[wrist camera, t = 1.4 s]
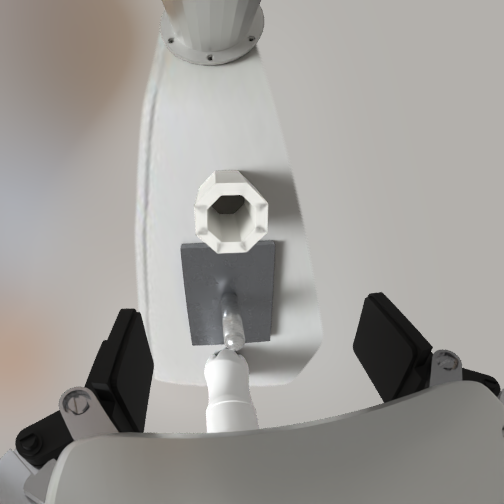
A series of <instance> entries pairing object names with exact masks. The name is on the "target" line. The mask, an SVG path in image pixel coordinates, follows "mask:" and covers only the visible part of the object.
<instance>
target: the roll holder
mask: <svg viewBox="0 0 504 504" xmlns="http://www.w3.org/2000/svg"><path fill="white" fill-rule="evenodd" d="M274 258H275V243H274V242H273V240H272V241H258V242H257V243H256V244H255V245H254V246H253V247H252V248H251V249H250V250H248V251H247V252H242V253H219V254H217V253H216V252H215V251H214V250H213V249H212V248H211V247H209V246H208V245H207V244H206V243H195V244H182V245H181V259H182V269H183V278H184V287H185V295H186V303H187V311H188V318H189V325H190V332H191V339H192V345H219V344H225V346H226V347H227V348H228V349H230V350H233V351H237V350H240V349H241V348H242V347H243V346H244V344H245V343H251V342H263V341H270V333H271V317H272V299H273V280H274Z"/></svg>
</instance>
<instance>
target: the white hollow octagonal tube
mask: <svg viewBox="0 0 504 504" xmlns="http://www.w3.org/2000/svg"><path fill="white" fill-rule="evenodd" d="M221 195H242V196H243V197H244V204H243V205H242V206H241V207H240V208H239V209H238V210H237V211H236V212H235V213H234V214H219V213H218V212H217V211H216V210H214V209H213V208H212V207H211V205H212V204H213V203H214V202H215V201H216V200H217V199H218V198H219V197H220V196H221ZM194 211H195V230H196V236H198V237H199V238H200V239H201V240H202V241H203V242H205V243H206V244H207V245H208V246H209V247H211V248H212V249H213V250H214V251H215V252H216V253H217V254H219V253H242V252H247V251H248V250H250V249H251V248H252V247H253V246H254V245H255V244H256V243H257V242H258V241H259V240H260V239H261V238H262V237H263V236H264V235H265V234H266V233H267V228H268V202H267V201H266V200H265V199H264V198H263V196H262V195H261V194H260V193H259V192H258V190H257V189H256V188H255V187H254V186H253V185H252V184H251V183H250V182H249V181H248V180H247V179H246V178H245V177H244V176H243V175H242V174H241V173H240V172H239V171H238V170H231V171H215V172H214V173H213V174H212V175H211V176H210V177H209V178H208V179H207V180H206V181H205V182H204V183H203V184H202V185H201V186H200V187H199V190H198V194H197V197H196V201H195V204H194Z"/></svg>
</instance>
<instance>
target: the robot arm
mask: <svg viewBox="0 0 504 504" xmlns="http://www.w3.org/2000/svg"><path fill="white" fill-rule="evenodd" d="M162 2H163V5H164V7H165V10H164V12H163V15H162V17H161V21H160V33H161V36H162V40H163V41H164V43H165V45H166V46H167V48H168V49H169V50H170V51H171V52H172V53H173V54H174V55H175V56H177V57H179V58H180V59H182V60H184V61H187V62H190V63H193V64H199V65H218V64H224V63H227V62H231V61H233V60H236V59H238V58H240V57H242V56H243V55H245V54H246V53H247V52H249V51H250V50H251V49H252V48H253V47H254V46H255V45H256V43H257V42H258V40H259V39H260V36H261V34H262V32H263V28H264V16H263V12H262V9H261V7H260V5H259V4H260V2H261V0H162ZM249 39H252V40H253V41H252V42H251V41H249ZM171 41H173V43H171V44H170V42H171ZM209 58H212V60H211V61H209V60H208V59H209ZM432 348H433V347H432V346H431V345H430V343H429V342H428V341H427V340H426V339H425V338H424V337H423V336H422V334H421V333H420V332H419V331H418V330H417V329H416V328H415V327H414V326H413V325H412V323H411V322H410V321H409V320H408V319H407V318H406V317H405V316H404V315H403V314H402V313H401V312H400V311H399V309H397V307H396V306H395V305H394V304H393V303H392V302H391V301H390V300H389V299H388V298H387V297H386V296H385V295H384V294H383V293H382V292H380V293H371V294H369V295H368V297H367V298H365V301H364V305H363V309H362V313H361V317H360V321H359V325H358V328H357V332H356V336H355V339H354V343H353V350H354V352H355V354H356V356H357V358H358V359H359V361H360V362H361V364H362V366H363V368H364V369H365V371H366V373H367V374H368V376H369V378H370V379H371V381H372V383H373V384H374V386H375V388H376V390H377V391H378V393H379V395H380V396H381V398H382V400H383V402H384V403H383V404H379V405H376V406H373V407H369V408H366V409H362V410H358V411H354V412H351V413H347V414H343V415H338V416H335V417H329V418H325V419H320V420H315V421H310V422H304V423H299V424H293V425H287V426H280V427H273V428H264V429H255V430H245V431H233V432H216V433H143V432H144V426H145V419H146V411H147V405H148V399H149V393H150V386H151V381H152V375H153V369H154V363H153V359H152V355H151V352H150V348H149V344H148V341H147V337H146V333H145V329H144V325H143V321H142V317H141V314H140V312H136V310H135V309H121V310H120V312H119V314H118V316H117V319H116V321H115V323H114V326H113V328H112V330H111V333H110V335H109V337H108V340H105V341H103V342H102V344H101V347H100V349H99V351H98V354H97V356H96V359H95V361H94V364H93V366H92V369H91V372H90V374H89V376H88V379H87V382H86V384H85V387H74V388H70V389H69V390H67V391H66V392H64V393H63V394H62V396H61V398H60V400H59V409H60V410H59V411H57V412H55V413H53V414H51V415H49V416H48V417H46V418H44V419H42V420H40V421H38V422H36V423H35V424H32V425H31V426H28V427H26V428H25V429H23V430H22V431H20V433H19V434H18V436H17V438H16V449H15V450H14V451H12V449H10V450H9V451H7V453H5V454H4V456H2V457H1V458H0V504H504V389H502V391H500V386H499V384H498V382H497V381H496V379H495V378H493V377H491V376H489V375H485V374H481V373H478V372H475V371H471V370H468V369H464V368H462V363H461V360H460V358H459V357H458V356H457V355H456V354H455V353H453V352H451V351H448V350H438V351H436V352H435V353H434V354H433V353H432V352H431V350H432Z"/></svg>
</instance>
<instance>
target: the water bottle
mask: <svg viewBox="0 0 504 504" xmlns="http://www.w3.org/2000/svg"><path fill="white" fill-rule="evenodd" d="M249 373H250V372H249V367H248V364H247V362H246V360H245V358H244V357H243V356H242V355H240V354H239V355H237V353H236V352H235V351H233V350H230V349H223V350H221V351H220V352H219V354H218V355H217V356H216V355H214V354H212V355H211V356H210V357H209V358H208V360H207V362H206V366H205V379H206V382H207V385H208V391H209V404H208V408H207V410H206V417H207V418H206V419H207V433H216V432H233V431H245V430H255V429H259V426H258V421H257V415H256V409H255V407H254V405H253V402H252V399H251V396H250V391H249Z"/></svg>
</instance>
